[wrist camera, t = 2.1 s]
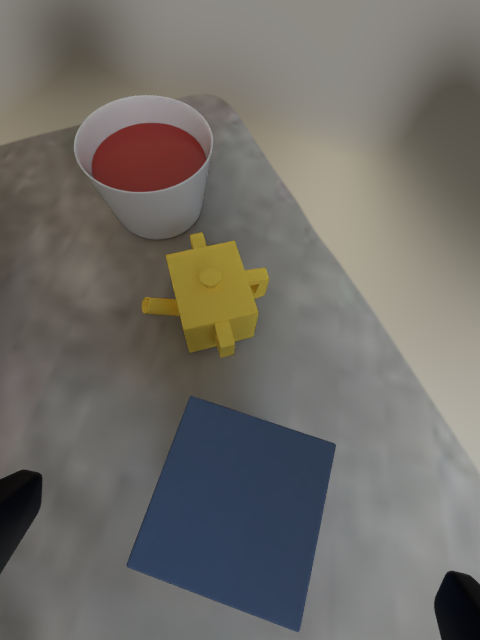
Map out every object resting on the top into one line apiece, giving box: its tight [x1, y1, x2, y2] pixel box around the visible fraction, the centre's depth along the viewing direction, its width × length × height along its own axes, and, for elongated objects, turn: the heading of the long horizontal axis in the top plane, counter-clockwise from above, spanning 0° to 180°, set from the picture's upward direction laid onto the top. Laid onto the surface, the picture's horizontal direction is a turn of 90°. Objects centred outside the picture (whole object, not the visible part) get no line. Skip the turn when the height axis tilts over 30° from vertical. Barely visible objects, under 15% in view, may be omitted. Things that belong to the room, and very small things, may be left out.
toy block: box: [142, 232, 269, 358], centre depth 23 cm, size 8×8×6 cm
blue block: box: [127, 396, 336, 632], centre depth 15 cm, size 4×4×12 cm
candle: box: [74, 95, 213, 240], centre depth 26 cm, size 9×9×6 cm
